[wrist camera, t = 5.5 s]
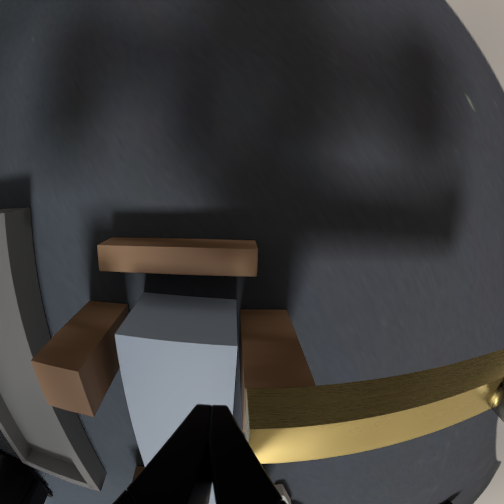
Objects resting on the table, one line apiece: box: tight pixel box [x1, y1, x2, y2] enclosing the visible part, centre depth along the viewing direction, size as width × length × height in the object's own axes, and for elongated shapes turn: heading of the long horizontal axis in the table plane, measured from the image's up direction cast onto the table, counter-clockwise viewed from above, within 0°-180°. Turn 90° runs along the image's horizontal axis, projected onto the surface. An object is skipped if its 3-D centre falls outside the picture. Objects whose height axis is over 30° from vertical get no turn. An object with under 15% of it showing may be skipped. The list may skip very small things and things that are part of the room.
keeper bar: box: [245, 349, 504, 464], centre depth 6 cm, size 10×2×2 cm, turn 88°
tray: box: [0, 207, 107, 492], centre depth 12 cm, size 8×20×2 cm, turn 178°
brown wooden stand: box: [31, 237, 316, 482], centre depth 11 cm, size 9×18×5 cm, turn 178°
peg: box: [115, 292, 237, 504], centre depth 13 cm, size 4×16×4 cm, turn 175°
